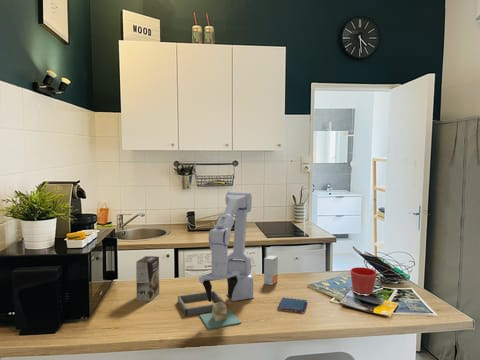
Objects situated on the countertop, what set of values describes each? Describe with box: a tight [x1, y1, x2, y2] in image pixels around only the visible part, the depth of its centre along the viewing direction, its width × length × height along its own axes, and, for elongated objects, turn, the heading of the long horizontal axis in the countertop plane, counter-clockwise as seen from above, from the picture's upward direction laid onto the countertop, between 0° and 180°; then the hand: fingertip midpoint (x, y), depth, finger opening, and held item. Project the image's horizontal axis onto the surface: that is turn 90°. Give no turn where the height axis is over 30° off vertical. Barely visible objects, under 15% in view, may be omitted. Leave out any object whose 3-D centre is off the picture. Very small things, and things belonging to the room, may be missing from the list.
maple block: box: [211, 302, 227, 321], centre depth 133 cm, size 4×4×5 cm
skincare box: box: [263, 255, 279, 286], centre depth 171 cm, size 6×4×12 cm
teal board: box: [199, 309, 242, 330], centre depth 133 cm, size 12×11×1 cm
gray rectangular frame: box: [177, 290, 226, 317], centre depth 145 cm, size 16×14×2 cm
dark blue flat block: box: [276, 297, 308, 314], centre depth 144 cm, size 10×11×2 cm
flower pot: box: [350, 266, 377, 295], centre depth 158 cm, size 11×11×10 cm
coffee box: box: [135, 255, 160, 302], centre depth 154 cm, size 9×6×16 cm
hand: (219, 299), depth 132 cm, fingers open, 7 cm apart
